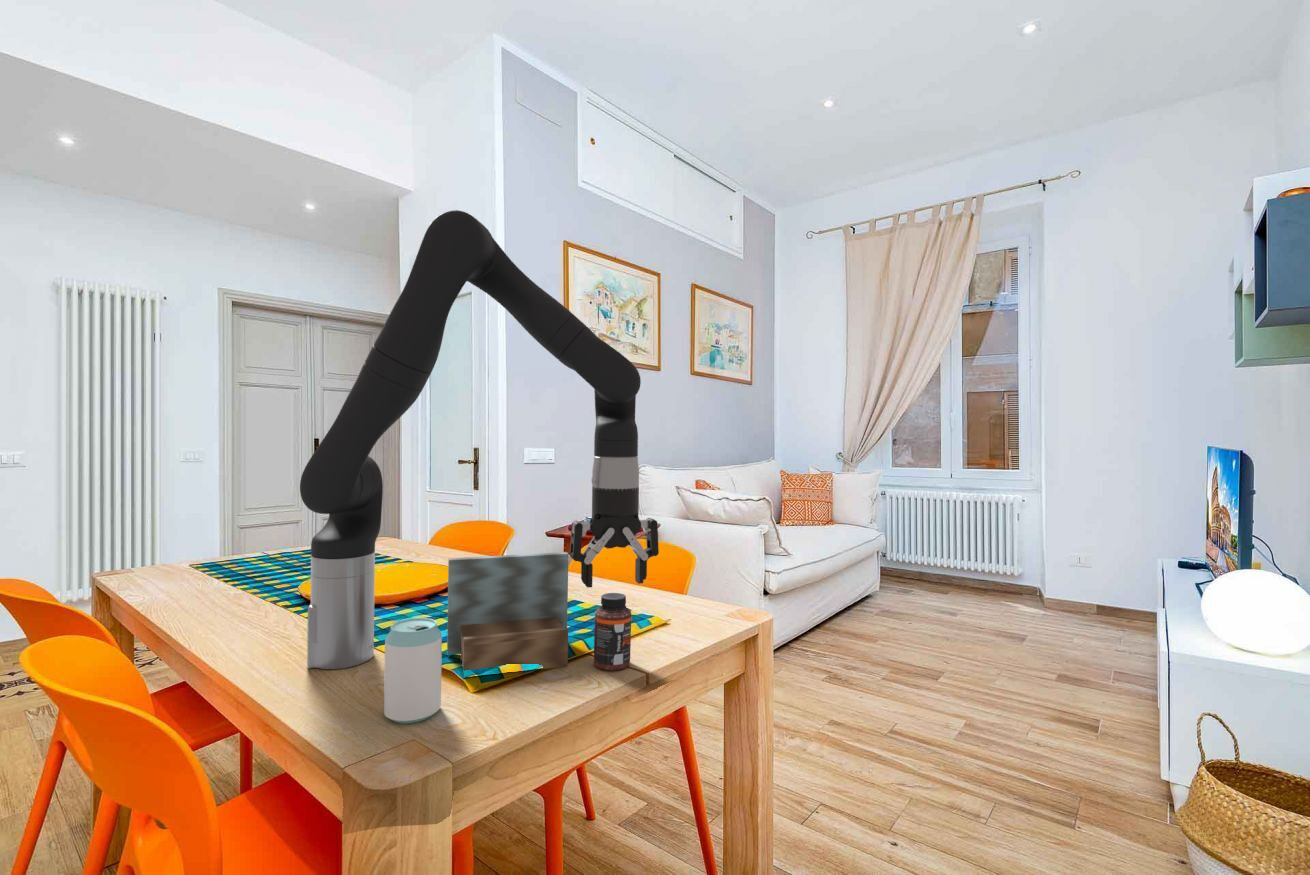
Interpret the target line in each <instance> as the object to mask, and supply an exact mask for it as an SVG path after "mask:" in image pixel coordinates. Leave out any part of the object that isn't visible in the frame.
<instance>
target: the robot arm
mask: <svg viewBox="0 0 1310 875" xmlns="http://www.w3.org/2000/svg"><path fill="white" fill-rule="evenodd" d="M467 282H468V283H470V284H471V285H472V286H474V287H476V288H477V289H479V290H481V291H482V292H484V293H485V294H486V295H488V296H490V297H491V298H492V299H493V300H494V301H496V302H497V303H498V304H499V305H501V306H502V307H503V308H504V309H505V310H506V311H507V312H508V313H509V314H510V315H511V316H512V317H513V318H514V319H515V320H516V321H517V322H518V324H520V325H521V327H522V328H523V329H524V330H525V331H526V332H528V334H529V335H530V336H531V337H532V338H533V339H534V340H535V341H537V343H539V345H541V346H542V347H543V348H544V349H545V350H546V351H547V352H549V353H550V355H552V356H553V357H554V358H555V359H557V360H558V362H560V363H561V364H563V365H564V366H565V367H567V368H568V369H570V370H573V371H574V372H576V374H578V375H579V376H580V377H581V378H582V379H583V380H584V381H585V382H586V383H587V384H589V385H590V386H591V387H592V388H593V389H594V411H595V426H594V427H595V428H594V439H593V440H594V442H593V443H594V444H593V447H594V449H593V455H594V457H593V465H592V473H591V474H592V476H591V484H592V485H591V493H592V494H591V518H590V520H589V522H584V521H583V522H580V521H578V520H573V521H572V522H571V531H570V532H571V533H570V546H569V558H571V559H572V560H573V561H575V562H579V563H580V565H581V566H580V573H581V574H580V579H581V582H582V583H583V584H584V585H585V586H586V588H587V589H588V588H593V564H592V562H593V561H594V559H595V558H596V557H597V555H598V554H600V553H601V552H602V549H603V548H606V549H608V550H609V549H614V548H616V547H617V548H623V549H624V548H627V546H628V547H629V548H631V550H632V551H633V553H634V554H635V555H636V558H635V564H634V565H635V570H634V571H635V572H634V574H635V575H634V576H635V577H634V580H635V582H636V583H637V584H638V585H640V584H644V581H645V580H646V579H647V577H648V574H647V573H648V571H647V570H648V561H649V559H651V558H652V557H657V556H658V555H659V553H660V550H659V548H660V547H659V530H658V528H659V526H658V521H657V520H655V519H654V518H651V517H647V518H646V519H640V518H639V512H640V511H639V510H640V507H639V505H640V503H639V502H640V498H639V497H640V495H639V494H640V491H639V490H640V466H639V455H638V453H639V432H638V426H637V423H636V402H637V401H636V400H637V395H638V392H640V388H641V385H642V384H641V381H642V380H641V374H640V372H639V370H638V367H636V365H634V363H632V362H631V361H630V360H629V359H628V358H627V357H625V356H624V355H623V354H622V353H621V352H620V351H618V350H616V349H615V348H614V347H612V346H611V345H610V344H608V343H607V342H606V341H604V340H602V339H601V338H600V337H598V336H597V335H596V334H595V332H594V331H593V330H591V328H590V327H588V326H587V325H586V324H585V323H584V322H583V321H582V320H580V319H579V318H578V317H577V316H576V315H575V314H573V312H571V311H570V309H568V308H567V307H565V306H564V305H563V304H562V303H561V302H560V301H558V300H557V299H555V298H554V297H553V296H552V295H550V294H549V293H548V292H546V291H545V290H544V289H543V288H541V287H540V285H537V284H536V283H535V282H534V281H533V280H532V279H531V278H529V277H528V276H527V275H526V274H525V273H524V272H523V271H522V270H521V269H520V268H519V267H518V266H517V265H516V264H515V263H514V262H513V261H512V260H511V258H510V257H509V256H508V255H507V254H506V252H505V251H504V250H503V248H502V247H501V246H500V245H499V244H498V242H497V241H496V240H495V238H494V237H493V235H492V234H491V232H490V230H489V229H488V228H487V227H486V226H485V225H484V224H483V223H482V222H480V221H479V220H478V219H477V218H476V217H475V216H473V215H471V214H470V213H468V212H466V211H463V210H458V209H452V210H451V209H450V210H447V211H444V212H442V213H441V214H439V215H438V216H436V217H435V218H434V219H433V220H432V221H431V222H430V224H429V225H428V226H427V228H426V230H425V233H424V235H423V238H422V240H421V243H420V245H419V249H418V251H417V254H416V257H415V260H414V262H413V265H412V268H411V270H410V273H409V275H408V278H407V281H406V282H405V285H404V287H403V290H402V291H401V293H400V295H399V296H398V298H397V300H396V302H395V303H394V306H393V308H392V309H391V311H390V313H389V315H388V317H387V318H386V321H385V322H384V324H383V326H382V328H381V330H380V332H379V334H378V335H377V337H376V339H375V341H374V343H373V345H372V346H371V348H370V351H369V353H368V354H367V357H366V358H365V360H364V362H363V365H362V367H361V369H360V372H359V374H358V376H357V378H356V380H355V382H354V384H353V385H352V388H351V390H350V391H349V393H348V395H347V397H346V399H345V400H344V403H343V405H342V406H341V409H340V410H339V412H338V414H337V416H336V418H335V420H334V421H333V423H332V425H331V427H330V428H329V430H328V431H327V433H326V434H325V435H324V438H323V439H322V440H321V442H320V443H319V444H318V446H317V448H316V450H315V451H314V452H313V454H312V455H311V457H310V459H309V460H308V462H307V464H306V465H305V467H304V469H303V471H302V474H301V478H300V483H299V494H300V497H301V500H302V503H303V504H304V505H305V507H306V508H307V509H308V510H310V511H311V512H314V513H316V514H321V515H323V514H324V515H328V518H327V521H326V523H325V524H324V525H323V528H321V530H319V531H318V532H317V533H316V534H315V535H314V536H313V537H312V540H311V542H310V603H309V606H308V608H307V648H306V650H307V651H306V652H307V653H306V654H307V656H306V657H307V660H306V661H307V662H306V665H307V666H306V668H307V669H314V668H315V669H320V670H321V669H323V670H337V669H346V668H350V667H354V666H358V665H362V664H364V663H365V662H368V661H370V660H371V659H372V658H373V656H374V652H375V651H374V649H375V647H374V646H375V587H376V585H375V578H376V577H375V576H376V575H375V574H376V573H375V572H376V570H375V569H376V567H375V566H376V564H375V562H376V541H377V539H378V536H379V534H380V531H381V524H382V512H383V510H382V509H383V496H384V495H383V493H384V489H383V488H384V487H383V486H384V485H383V484H384V482H383V477H382V472H381V470H380V466H379V465H378V463H377V462H376V461H375V460H374V459H373V458H372V457H371V456H369V455H370V453H371V452H372V450H373V448H374V446H376V443H377V442H378V441H379V439H380V438H381V437H382V436H383V435H384V434H385V432H386V431H387V430H389V428H391V427H392V426H393V424H395V423H396V422H397V421H398V420H399V419H400V418H401V417H402V416H403V415H405V413H406V412H407V411H409V409H410V408H411V407H412V405H413V404H414V403H415V402H416V401H417V399H418V398H419V396H420V395H421V393H422V391H423V389H424V387H425V385H427V384H426V383H427V382H428V380H429V378H430V376H431V374H432V372H433V370H434V368H435V365H436V363H437V360H438V358H439V355H440V350H441V346H442V343H443V338H444V332H445V330H446V329H445V328H446V324H447V320H448V316H449V314H450V311H451V310H452V307H453V305H454V303H455V301H456V300H457V298H458V297H459V295H460V292H461V291H462V289H463V287H464V285H466V283H467ZM641 529H642V530H643V532H645V537H646V538H645V540H646V548H644V547H643V545H641V542H639V540H638V539H637V537H636V535H637V534H638V532H639V531H640V530H641ZM588 530H589V531H590V533H591V534H592V535H593V537H592V539H591V540H590V541H589V543H588V545H587V547H586V549H585V550H584V551H583V553H582V542H583V537H584V536H586V535H587V532H588Z"/></svg>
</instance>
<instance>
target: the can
mask: <svg viewBox="0 0 1310 875" xmlns="http://www.w3.org/2000/svg"><path fill="white" fill-rule="evenodd" d="M437 625H438V622H437V621H436V620H435V619H433V618H429V617H412V618H405V619H401V620H398V621H395V622H394V623H393V624H391V625H390V628H389V629H390V631H389V633H388V634H387V635H386V637H385V639H384V692H383V693H384V694H383V695H384V696H383V699H384V702H383V706H384V707H383V713H384V716H385V717H386V718H387V719H389V720H391V721H393V722H395V723H398V724H413V723H419V722H423V721H425V720H427V719H429V718H431V717H432V716H433V715H434V714H436V713H437V712H438V711H439V710H440V709H441V707H442V663H443V662H442V659H443V658H442V655H443V654H442V653H443V651H442V649H443V648H442V647H443V646H442V645H443V643H442V641H443V634H442V631H441V630H440V629H439V627H438V626H437Z"/></svg>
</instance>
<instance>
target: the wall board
mask: <svg viewBox="0 0 1310 875" xmlns="http://www.w3.org/2000/svg"><path fill="white" fill-rule="evenodd" d="M569 557H570V553H568V552H566V551H563V552H560V551H559V552H547V553H546V552H544V553H543V552H542V553H527V554H525V553H524V554H509V555H508V554H507V555H487V556H485V555H484V556H470V557H469V556H468V557H466V556H465V557H449V558H448V564H447V565H448V566H447V567H448V568H447V569H448V570H447V572H448V573H447V574H448V576H447V577H448V578H447V585H448V586H447V626H446V628H447V632H446V633H447V634H446V636H447V638H446V640H447V641H446V642H447V643H446V647H447V648H446V654H447V655H448V654H453V653H459V652H460V654H461V658H460V661H461V660H462V665H463V670H464V671H465V670H473V669H481V668H489V667H496V666H501V665H506V664H539V665H542V666H543V668H542V669H541V670H550V669H557V668H565V667H568V661H569V660H568V658H569V628H568V606H569V605H568V604H569V603H568V597H569V596H568V594H569ZM462 665H461V666H462Z"/></svg>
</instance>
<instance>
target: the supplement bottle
mask: <svg viewBox="0 0 1310 875" xmlns="http://www.w3.org/2000/svg"><path fill="white" fill-rule="evenodd" d="M600 599H601V600H600V605H601V606H600V607H598V608H597V609H596V610H595V611H594V630H593V631H594V632H593V633H594V634H593V635H594V636H593V641H594V642H593V663H594V666H596V667H597V668H598V669H600V670H603V671H621V670H624V669H626V668H627V667H629V665H630V663H631V648H632V646H631V645H632V644H631V641H632V640H631V639H632V611H631V609H630V608H628V606H626V604H627V596H626V594H623V593H620V592H619V593H618V592H607V593H603V594H602V595H601V598H600Z"/></svg>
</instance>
